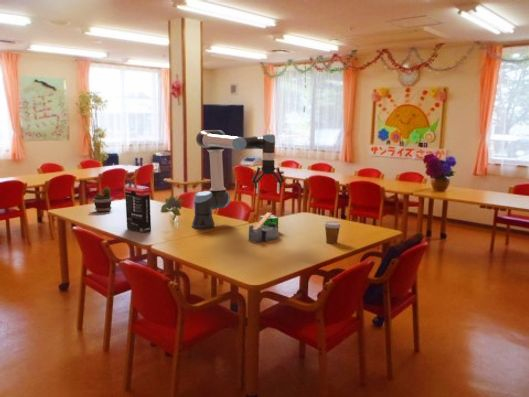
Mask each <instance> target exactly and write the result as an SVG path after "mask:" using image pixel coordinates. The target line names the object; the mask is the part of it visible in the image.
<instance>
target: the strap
mask: <svg viewBox="0 0 529 397" xmlns="http://www.w3.org/2000/svg"><path fill="white" fill-rule="evenodd" d="M264 215H265V216H264ZM264 215H263V216H264V217H263V218H262V219H261V221H260V222H258V223H257V224H256V225H255V226H254V227H255V228H254V227H253V228H252V229H251V230H252V231H257V232H258V227H261V226H262V225H263V224H264V223H265V221H266V220H267V219H268V218H269V217H270V215H273V213H272V212H266V214H264Z"/></svg>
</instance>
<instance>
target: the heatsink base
mask: <svg viewBox="0 0 529 397" xmlns="http://www.w3.org/2000/svg"><path fill="white" fill-rule="evenodd" d="M268 224H269V226H264V225H262V226H261V227H258V232H257V231H252V230H251V229H252V228H255V226H254V225H253V224H251V225H248V241H249V242H255V243H258V244H259V243H262V242H266V243H267V242H269V241H272V240H275V239H278V238H279V227H278V228H276V223H273V222H268Z"/></svg>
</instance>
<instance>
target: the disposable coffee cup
mask: <svg viewBox="0 0 529 397" xmlns="http://www.w3.org/2000/svg"><path fill="white" fill-rule="evenodd" d="M341 226H342V225H341V223H340V222H337V221H326V222H325V223H324V227H325V237H326V238H325V239H326V243H327V244H329V245H335V244H337V243H338V239H339V233H340V228H341Z"/></svg>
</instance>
